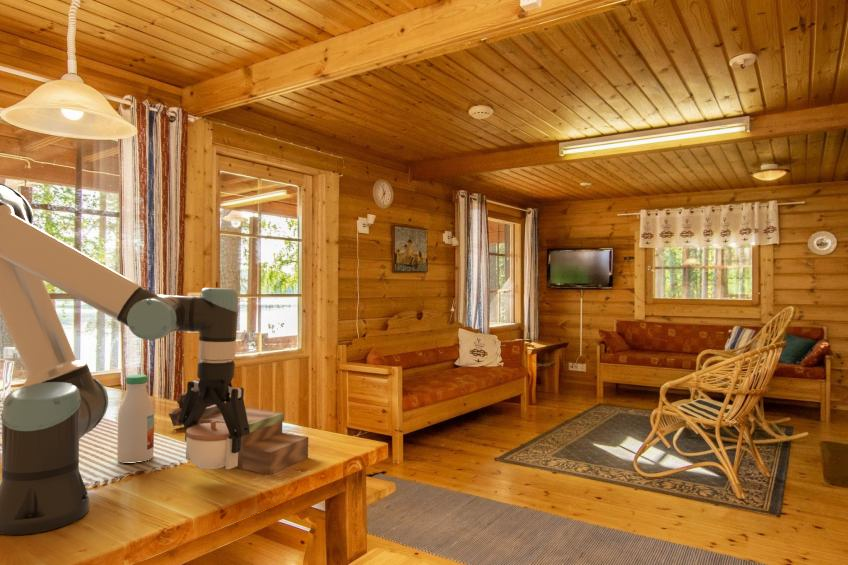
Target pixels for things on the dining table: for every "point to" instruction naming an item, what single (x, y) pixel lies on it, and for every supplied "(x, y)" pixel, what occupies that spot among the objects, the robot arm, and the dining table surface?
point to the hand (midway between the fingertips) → (211, 462)
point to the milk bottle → (135, 422)
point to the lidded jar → (207, 444)
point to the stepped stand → (264, 441)
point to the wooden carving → (176, 412)
